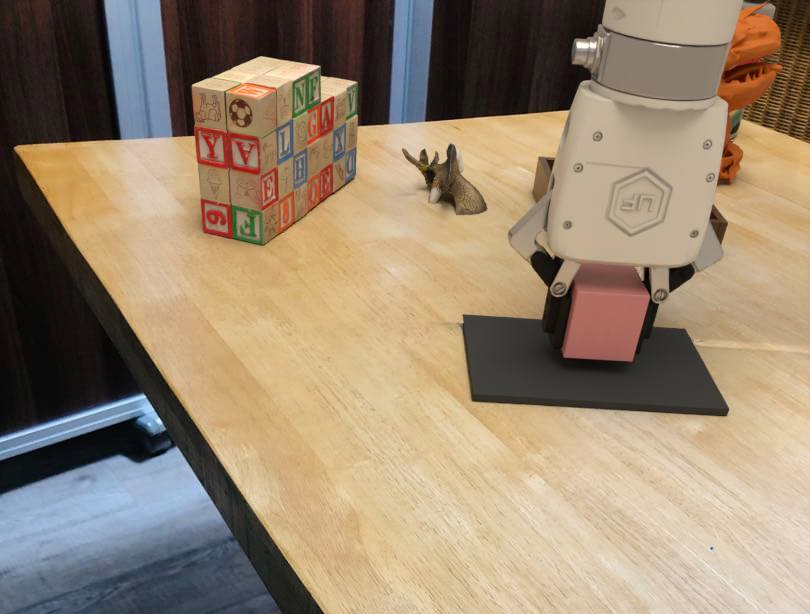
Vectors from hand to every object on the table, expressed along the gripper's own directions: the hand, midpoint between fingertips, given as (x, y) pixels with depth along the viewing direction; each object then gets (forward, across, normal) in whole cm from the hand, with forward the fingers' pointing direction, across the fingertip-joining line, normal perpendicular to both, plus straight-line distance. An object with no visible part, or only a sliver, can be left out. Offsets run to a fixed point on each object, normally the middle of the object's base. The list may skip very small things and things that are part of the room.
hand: (592, 340), depth 63 cm
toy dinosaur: (+2, +21, +46) cm, 51 cm away
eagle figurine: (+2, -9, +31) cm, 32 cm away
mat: (+2, 0, 0) cm, 2 cm away
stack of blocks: (+2, -25, +29) cm, 38 cm away
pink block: (0, 0, 0) cm, 0 cm away
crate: (+2, +8, +28) cm, 29 cm away
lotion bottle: (+2, +29, +66) cm, 72 cm away
